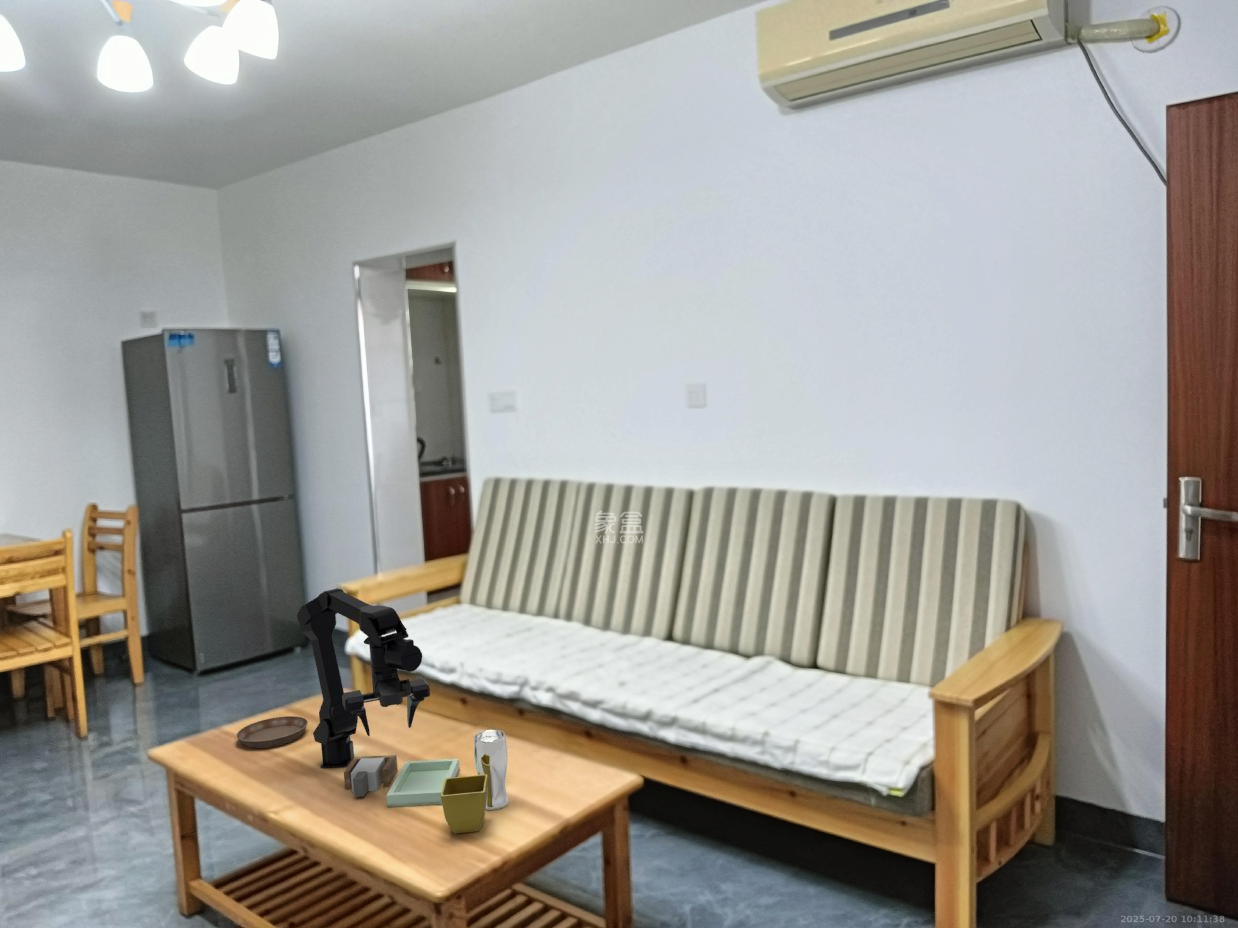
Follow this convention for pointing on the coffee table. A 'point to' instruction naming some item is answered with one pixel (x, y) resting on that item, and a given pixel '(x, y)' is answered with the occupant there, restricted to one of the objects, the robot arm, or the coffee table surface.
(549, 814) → the coffee table surface
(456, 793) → the flower pot
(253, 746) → the plant saucer
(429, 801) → the tray
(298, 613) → the robot arm
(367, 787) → the grey stepped block
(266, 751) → the coffee table surface
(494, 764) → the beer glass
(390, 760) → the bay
